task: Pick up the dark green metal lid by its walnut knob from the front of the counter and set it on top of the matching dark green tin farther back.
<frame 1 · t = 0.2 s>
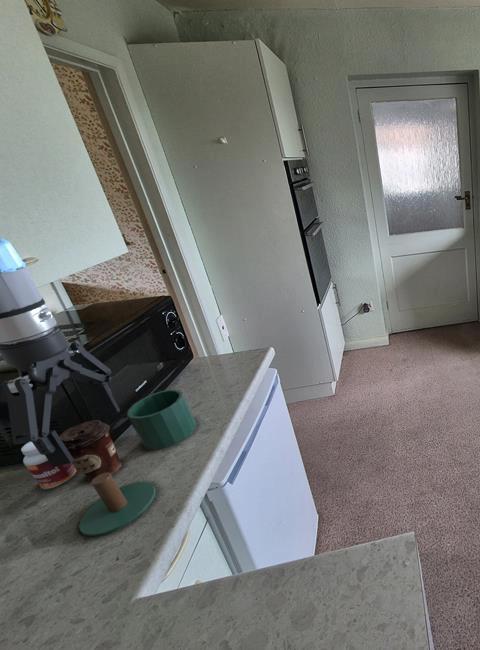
hand: (89, 436, 70), 20 cm above the worktop, tool pointing down, fingers open, 13 cm apart
pill bottle: (60, 480, 89), on the worktop
tin lid: (119, 508, 79), point 1 cm above the worktop
brown jar: (105, 473, 90), on the worktop
tin: (171, 435, 100), on the worktop
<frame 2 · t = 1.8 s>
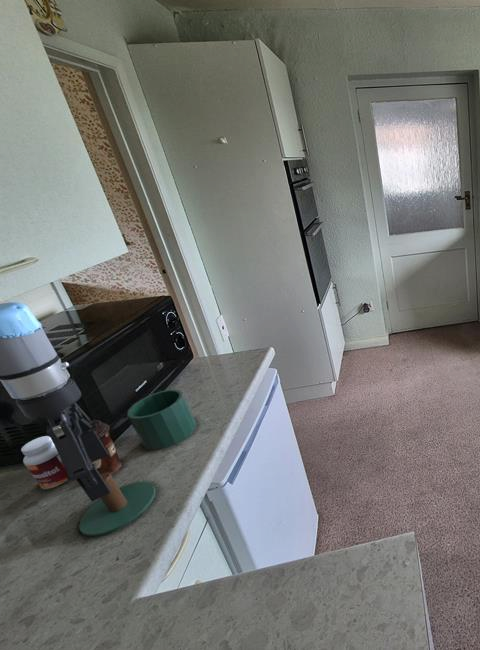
hand: (100, 476, 76), 10 cm above the worktop, tool pointing down, fingers open, 13 cm apart
nothing on the worktop moved.
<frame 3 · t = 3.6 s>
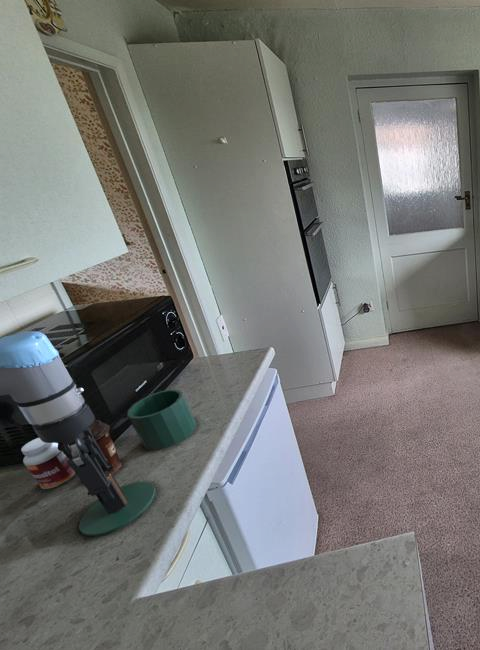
hand: (116, 503, 79), 2 cm above the worktop, tool pointing down, fingers closed on tin lid, 3 cm apart
tin lid: (119, 508, 79), point 1 cm above the worktop, touching gripper
everything else where it was.
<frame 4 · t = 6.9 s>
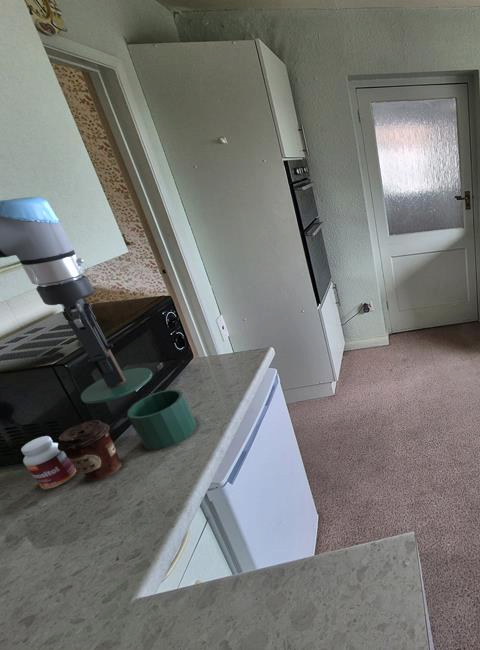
hand: (115, 380, 84), 23 cm above the worktop, tool pointing down, fingers closed on tin lid, 3 cm apart
tin lid: (118, 385, 84), point 21 cm above the worktop, touching gripper
everything else where it was.
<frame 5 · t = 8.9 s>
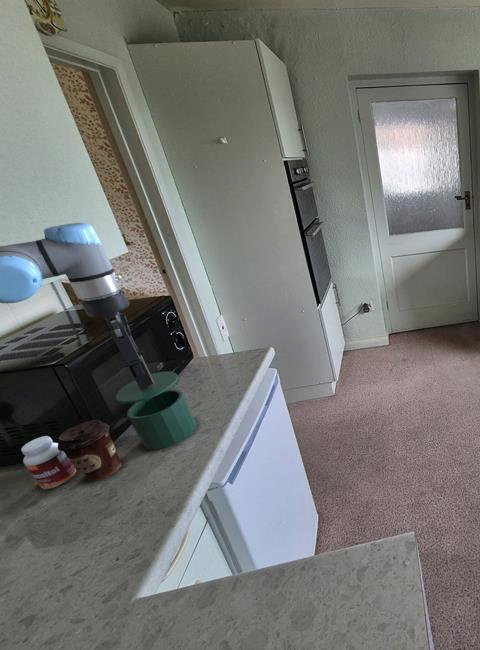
hand: (145, 382, 94), 17 cm above the worktop, tool pointing down, fingers closed on tin lid, 3 cm apart
tin lid: (148, 387, 94), point 15 cm above the worktop, touching gripper
everything else where it was.
when the fingers open (12 cm above the worktop, at t = 10.3 s): tin lid stays where it is, resting on tin.
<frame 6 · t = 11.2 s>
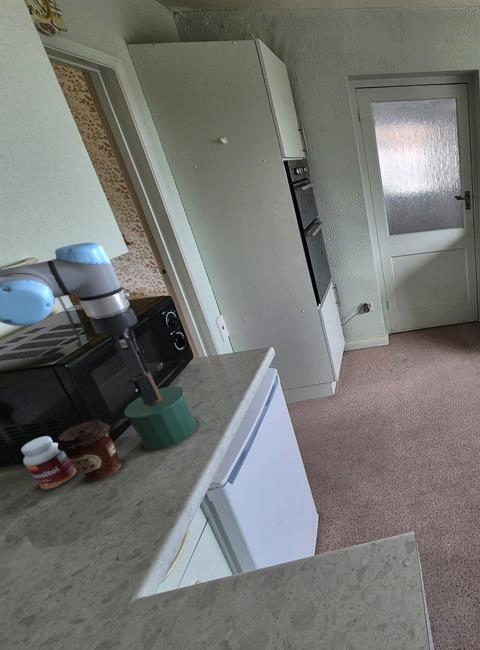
hand: (148, 389, 94), 15 cm above the worktop, tool pointing down, fingers open, 13 cm apart
tin lid: (155, 402, 96), point 10 cm above the worktop, touching tin
everything else where it was.
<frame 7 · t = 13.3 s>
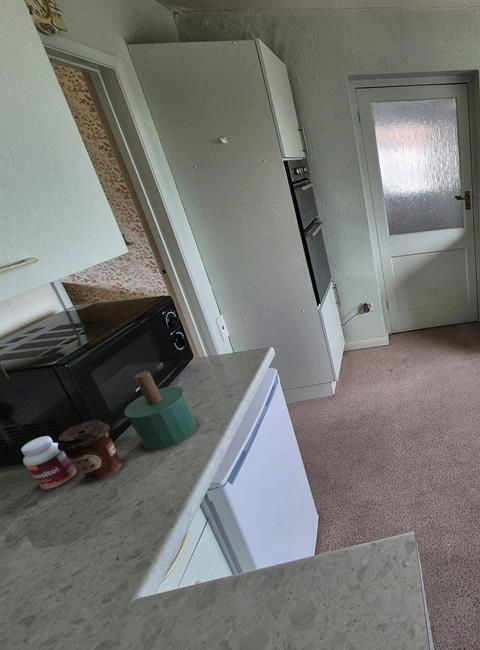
nothing on the worktop moved.
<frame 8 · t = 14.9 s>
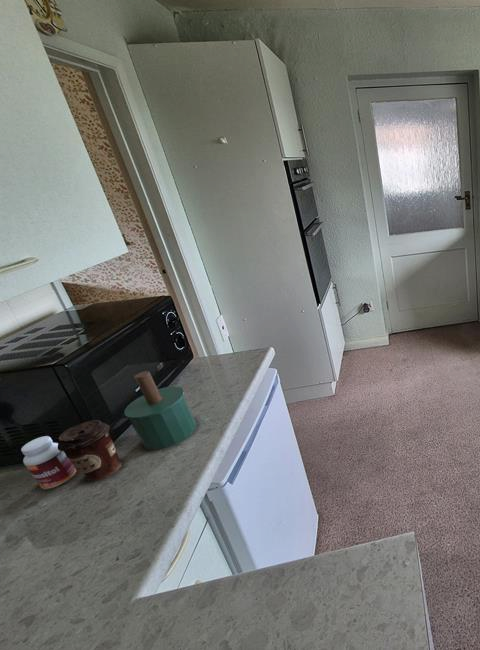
nothing on the worktop moved.
at the end: tin lid 0.1 cm off-centre on the tin, point 10.5 cm above the tin's base; tin lid tilted 0° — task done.
